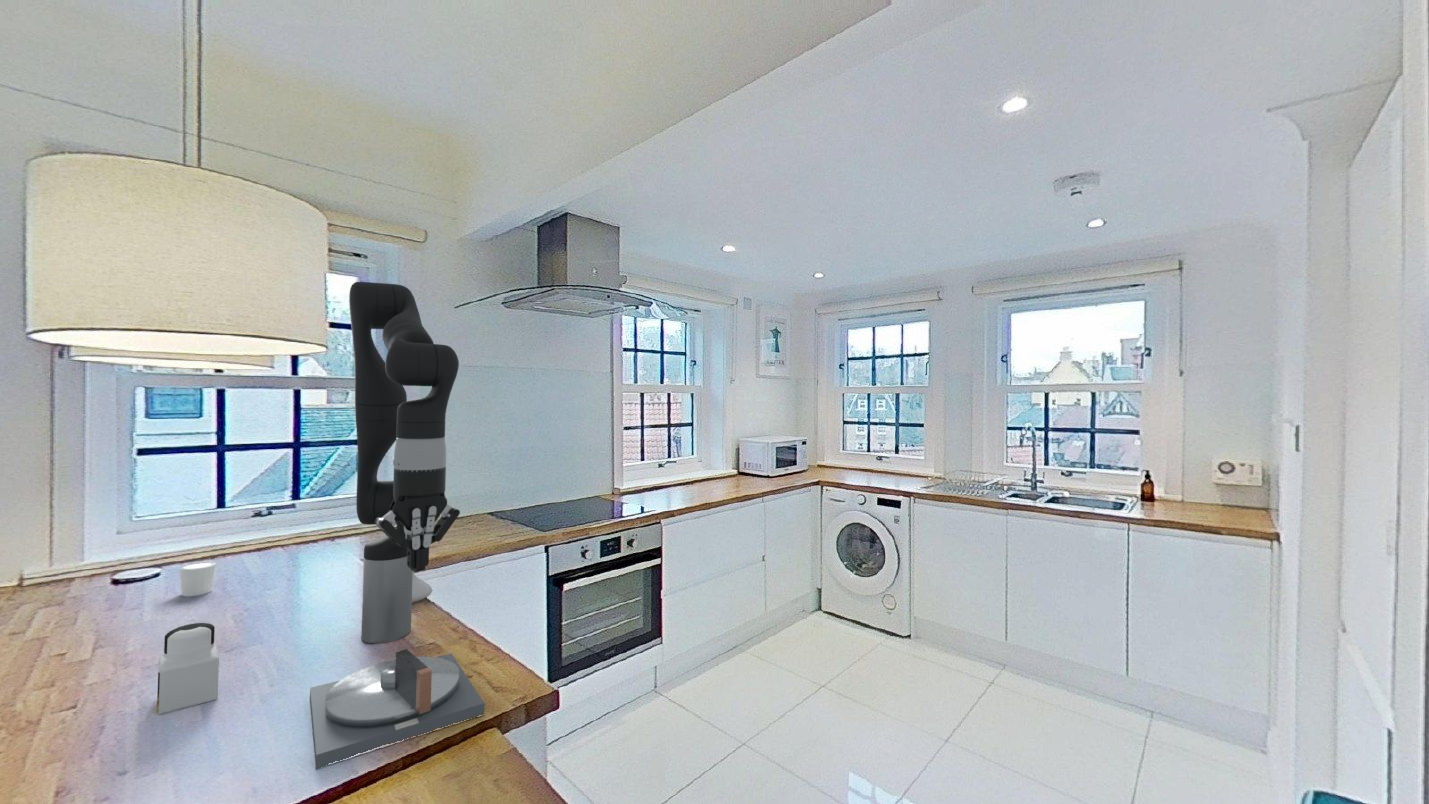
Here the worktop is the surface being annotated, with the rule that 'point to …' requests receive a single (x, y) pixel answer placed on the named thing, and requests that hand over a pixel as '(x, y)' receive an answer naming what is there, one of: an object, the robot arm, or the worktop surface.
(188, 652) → the grey handled container
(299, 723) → the worktop surface
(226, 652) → the worktop surface
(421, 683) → the rotary knob
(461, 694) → the plinth
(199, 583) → the white cup
